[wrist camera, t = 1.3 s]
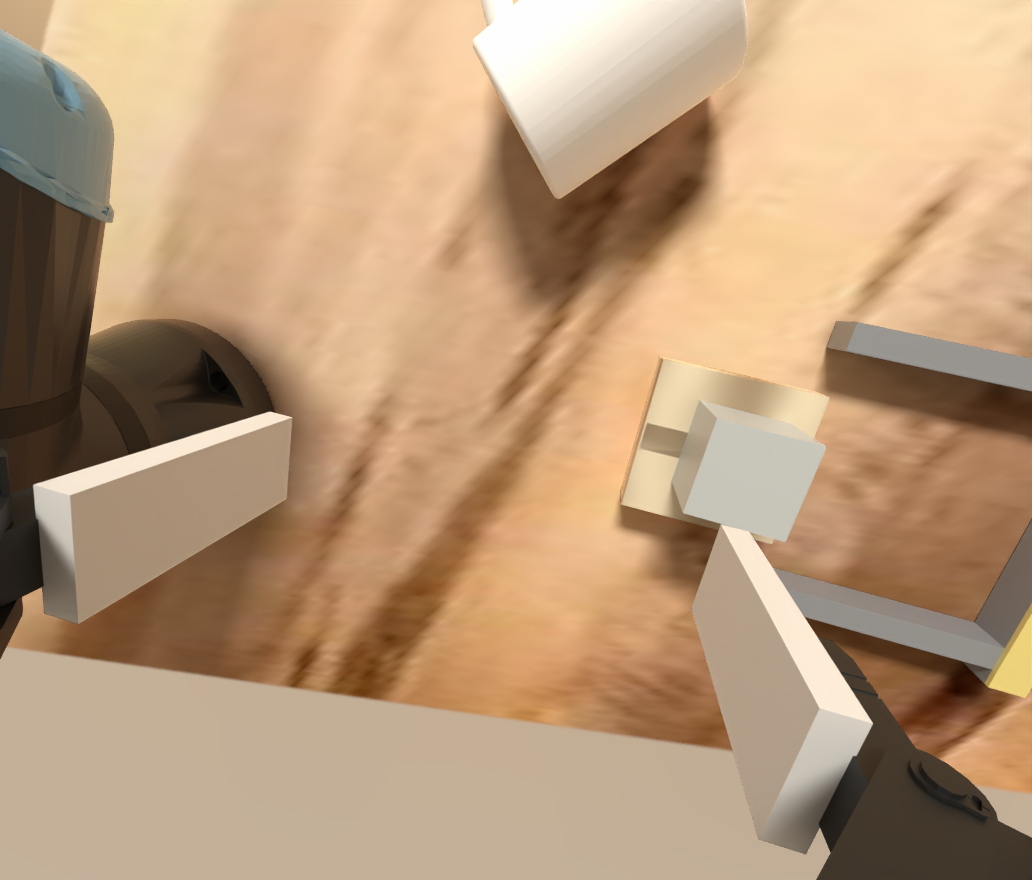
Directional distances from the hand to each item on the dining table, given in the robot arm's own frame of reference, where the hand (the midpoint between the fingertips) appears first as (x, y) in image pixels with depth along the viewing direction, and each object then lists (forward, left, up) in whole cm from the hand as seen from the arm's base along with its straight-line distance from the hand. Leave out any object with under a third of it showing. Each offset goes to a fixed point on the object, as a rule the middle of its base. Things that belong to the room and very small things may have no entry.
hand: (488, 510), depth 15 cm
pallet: (+10, 0, -19) cm, 21 cm away
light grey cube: (+11, 0, -16) cm, 19 cm away
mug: (-3, +19, -19) cm, 27 cm away
